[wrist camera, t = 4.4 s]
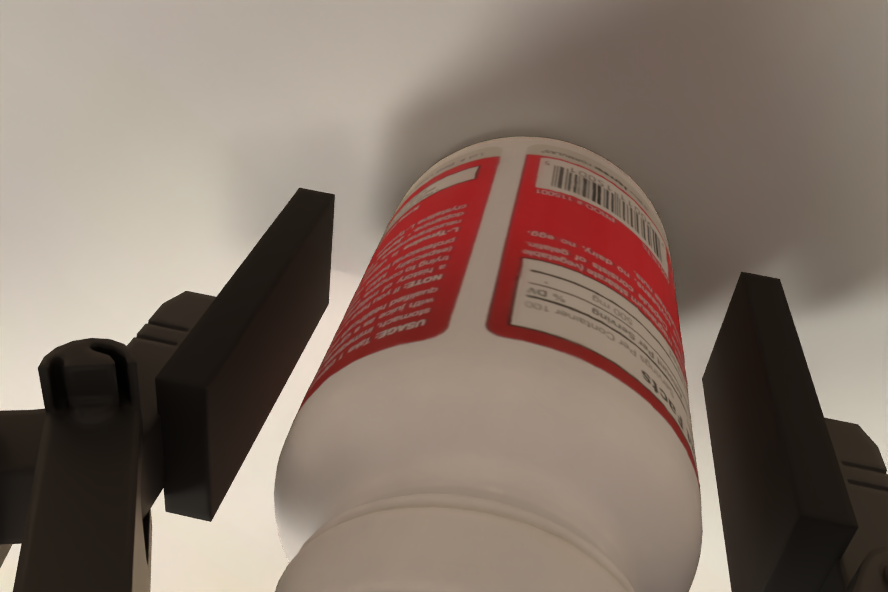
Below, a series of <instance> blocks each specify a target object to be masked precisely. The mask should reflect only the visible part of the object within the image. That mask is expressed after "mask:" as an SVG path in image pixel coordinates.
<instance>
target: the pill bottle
mask: <svg viewBox="0 0 888 592" xmlns="http://www.w3.org/2000/svg"><path fill="white" fill-rule="evenodd" d="M274 506H275V518H276V523H277V528H278V533H279V537H280V541H281V544H282V547H283V550H284V553H285V555H286V558H287V560H288V563H289V564H288V566H287V568H286V570H285V571H284V573H283V575H282V576H281V578H280V580H279V582H278V585H277V588H276V591H275V592H689V590H690V587H691V585H692V582H693V579H694V576H695V573H696V570H697V566H698V562H699V558H700V552H701V543H702V532H703V531H702V515H701V494H700V484H699V477H698V471H697V464H696V457H695V449H694V440H693V433H692V425H691V414H690V407H689V398H688V389H687V378H686V372H685V361H684V352H683V346H682V338H681V332H680V324H679V315H678V308H677V301H676V292H675V284H674V277H673V269H672V262H671V256H670V251H669V245H668V241H667V237H666V234H665V231H664V227H663V225H662V223H661V220H660V218H659V216H658V214H657V212H656V210H655V209H654V207H653V205H652V203H651V202H650V200H649V199H648V198H647V196H646V195H645V193H644V192H643V191H642V190H641V188H640V187H639V186H638V185H637V184H636V183H635V182H634V181H633V180H632V179H631V178H630V177H629V176H628V175H627V174H625V173H624V172H623V171H622V170H621V169H620V168H618V167H617V166H615V165H614V164H613V163H611V162H609V161H608V160H606V159H604V158H603V157H601V156H599V155H597V154H595V153H593V152H591V151H589V150H587V149H585V148H582V147H580V146H577V145H574V144H571V143H568V142H564V141H560V140H556V139H550V138H543V137H525V136H523V137H506V138H498V139H493V140H488V141H483V142H480V143H477V144H474V145H471V146H468V147H466V148H464V149H461V150H459V151H457V152H455V153H453V154H451V155H449V156H448V157H446V158H444V159H442V160H441V161H439V162H438V163H436V164H435V165H433V166H432V167H431V168H430V169H428V170H427V171H426V172H425V173H424V174H423V175H422V176H421V177H420V178H419V179H418V180H417V181H416V182H415V183H414V184H413V186H412V187H411V188H410V189H409V191H408V192H407V194H406V195H405V197H404V198H403V200H402V201H401V203H400V204H399V206H398V208H397V210H396V211H395V213H394V215H393V217H392V218H391V220H390V222H389V224H388V226H387V228H386V230H385V233H384V235H383V237H382V239H381V241H380V243H379V245H378V247H377V249H376V251H375V253H374V255H373V256H372V259H371V261H370V264H369V266H368V268H367V270H366V272H365V274H364V276H363V278H362V280H361V282H360V284H359V286H358V288H357V291H356V292H355V294H354V297H353V299H352V301H351V302H350V305H349V307H348V309H347V311H346V313H345V315H344V318H343V320H342V322H341V324H340V326H339V328H338V330H337V332H336V334H335V336H334V338H333V341H332V343H331V345H330V347H329V349H328V351H327V353H326V355H325V357H324V359H323V361H322V363H321V365H320V368H319V370H318V372H317V374H316V375H315V377H314V379H313V381H312V383H311V385H310V387H309V389H308V391H307V393H306V395H305V397H304V399H303V402H302V404H301V406H300V409H299V411H298V413H297V415H296V417H295V419H294V421H293V424H292V426H291V428H290V431H289V433H288V436H287V438H286V440H285V443H284V446H283V448H282V451H281V454H280V457H279V461H278V465H277V471H276V479H275V488H274Z"/></svg>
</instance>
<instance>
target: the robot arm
mask: <svg viewBox="0 0 888 592" xmlns="http://www.w3.org/2000/svg"><path fill="white" fill-rule="evenodd" d="M334 200H335V195H334V194H329V193H324V192H319V191H313V190H308V189H303V188H299V189H298V190H297V192H296V193H295V194H294V196H293V197H292V198H291V200H290V201H289V202H288V204H287V205H286V206H285V207H284V209H283V210H282V211H281V213H280V214H279V215H278V217H277V218H276V219H275V221H274V222H273V223H272V225H271V226H270V227H269V229H268V230H267V231H266V232H265V234H264V235H263V236H262V238H261V239H260V240H259V242H258V243H257V244H256V246H255V247H254V248H253V250H252V251H251V252H250V254H249V255H248V256H247V258H246V259H245V260H244V261H243V263H242V264H241V265H240V267H239V268H238V269H237V271H236V272H235V273H234V275H233V276H232V277H231V279H230V280H229V281H228V283H227V284H226V285H225V286H224V288H223V289H222V290H221V292H220V293H219V294H218V296H217V297H214V296H209V295H204V294H199V293H194V292H189V291H185V292H183V293H181V294H180V295H178V296H176V297H174V298H172V299H170V300H169V301H167V302H165V303H163V304H162V305H161V306H160V308H159V309H158V310H157V311H156V312H155V313H154V315H153V316H152V317H151V318H150V319H149V322H148V324H145V325H144V326H143V328H142V329H141V330H140V331H139V332H138V333H137V337H136V338H135V337H134V338H133V339H132V340H131V342H130V343H129V344H128V345H127V346H126V345H125V344H122V343H119V342H116V341H113V340H110V339H98V338H89V339H83V340H76V341H72V342H69V343H67V344H64V345H62V346H59V347H57V348H55V349H54V350H53V351H51V352H50V353H49V354H47V355H46V356H45V357H44V358H43V360H42V362H41V363H40V365H39V367H38V371H39V377H40V383H41V388H42V394H43V400H44V406H45V409H37V410H11V411H0V567H1V566H2V564H3V562H4V560H5V558H6V556H7V554H8V552H9V550H10V548H11V546H12V544H20V543H22V545H21V550H20V556H19V561H18V567H17V572H16V578H15V583H14V589H13V592H150V582H151V546H152V519H151V509H150V508H151V507H152V505H153V504H154V502H155V500H156V499H157V497H158V496H159V494H160V492H161V491H162V489H163V488H164V497H165V510H166V512H170V513H174V514H179V515H183V516H188V517H192V518H197V519H201V520H205V521H210V522H211V521H212V519H213V517H214V515H215V513H216V512H217V510H218V508H219V506H220V504H221V502H222V501H223V499H224V497H225V495H226V493H227V491H228V489H229V488H230V486H231V484H232V482H233V480H234V478H235V476H236V475H237V473H238V471H239V469H240V467H241V465H242V463H243V462H244V460H245V458H246V456H247V454H248V452H249V451H250V449H251V447H252V445H253V443H254V441H255V439H256V438H257V436H258V434H259V432H260V430H261V428H262V426H263V425H264V423H265V421H266V419H267V417H268V415H269V413H270V412H271V410H272V408H273V406H274V404H275V402H276V401H277V399H278V397H279V395H280V393H281V391H282V389H283V388H284V386H285V384H286V382H287V380H288V378H289V376H290V375H291V373H292V371H293V369H294V367H295V365H296V363H297V362H298V360H299V358H300V356H301V354H302V352H303V351H304V349H305V347H306V345H307V343H308V341H309V339H310V338H311V336H312V334H313V332H314V330H315V328H316V326H317V325H318V323H319V321H320V319H321V317H322V315H323V313H324V312H325V310H326V308H327V306H328V304H329V288H330V271H331V253H332V235H333V218H334ZM702 381H703V388H704V395H705V403H706V410H707V417H708V424H709V431H710V439H711V446H712V453H713V460H714V467H715V475H716V482H717V489H718V496H719V503H720V511H721V518H722V525H723V532H724V539H725V547H726V554H727V561H728V568H729V575H730V583H731V590H732V592H888V474H886V471H887V469H886V466H885V464H884V461H883V459H882V456H881V453H880V451H879V448H878V447H877V445H876V444H875V443H874V442H873V441H872V440H871V439H870V437H869V436H868V435H867V434H866V433H865V432H864V431H863V430H862V428H861V427H860V426H859V425H858V424H853V423H848V422H843V421H838V420H833V419H828V418H824V416H823V413H822V410H821V407H820V404H819V400H818V397H817V394H816V391H815V388H814V385H813V382H812V378H811V375H810V372H809V369H808V366H807V363H806V360H805V356H804V353H803V350H802V347H801V344H800V341H799V338H798V334H797V331H796V328H795V325H794V322H793V319H792V316H791V312H790V309H789V306H788V303H787V300H786V297H785V294H784V290H783V287H782V284H781V281H780V279H777V278H772V277H767V276H761V275H756V274H751V273H745V272H741V274H740V277H739V279H738V282H737V285H736V288H735V290H734V293H733V296H732V299H731V301H730V304H729V307H728V310H727V312H726V315H725V318H724V321H723V323H722V326H721V329H720V331H719V334H718V337H717V340H716V342H715V345H714V348H713V351H712V353H711V356H710V359H709V362H708V364H707V367H706V370H705V373H704V375H703V378H702Z"/></svg>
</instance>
